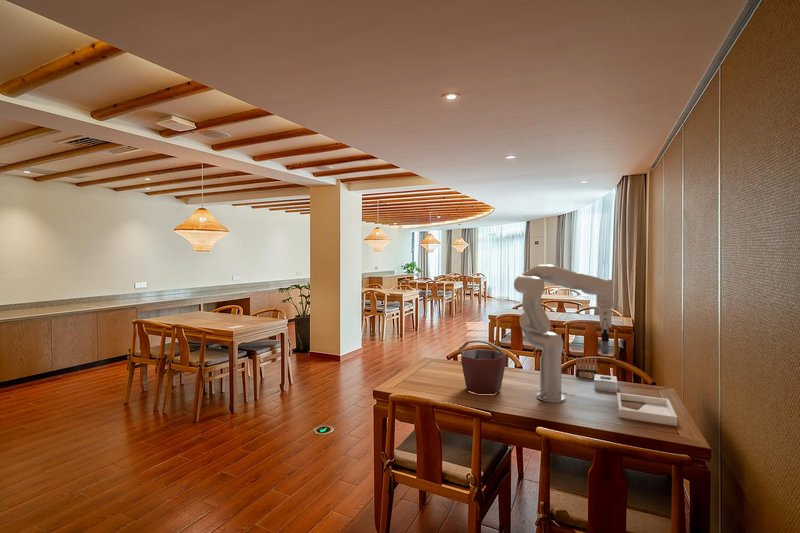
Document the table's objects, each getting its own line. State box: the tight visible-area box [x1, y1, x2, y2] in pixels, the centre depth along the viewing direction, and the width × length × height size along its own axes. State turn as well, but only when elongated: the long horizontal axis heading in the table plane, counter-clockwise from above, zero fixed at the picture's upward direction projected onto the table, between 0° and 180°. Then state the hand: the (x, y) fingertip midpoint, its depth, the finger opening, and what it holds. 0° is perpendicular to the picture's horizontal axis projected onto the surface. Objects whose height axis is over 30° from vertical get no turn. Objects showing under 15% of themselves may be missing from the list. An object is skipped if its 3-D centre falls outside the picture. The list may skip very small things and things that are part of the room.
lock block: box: [593, 373, 618, 394], centre depth 197 cm, size 10×10×6 cm
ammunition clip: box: [575, 356, 598, 379], centre depth 216 cm, size 11×2×12 cm, turn 67°
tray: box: [616, 392, 678, 427], centre depth 169 cm, size 22×20×4 cm
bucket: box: [458, 340, 507, 394], centre depth 201 cm, size 24×22×25 cm
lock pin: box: [600, 328, 610, 355], centre depth 197 cm, size 3×3×12 cm
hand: (605, 340), depth 197 cm, fingers closed on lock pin, 3 cm apart
